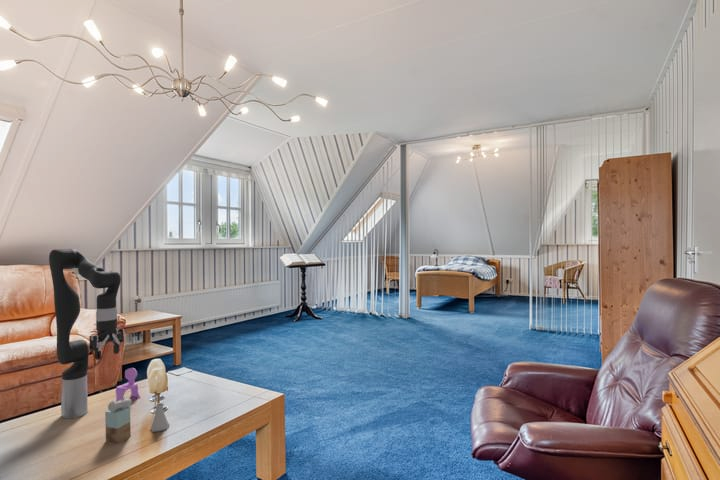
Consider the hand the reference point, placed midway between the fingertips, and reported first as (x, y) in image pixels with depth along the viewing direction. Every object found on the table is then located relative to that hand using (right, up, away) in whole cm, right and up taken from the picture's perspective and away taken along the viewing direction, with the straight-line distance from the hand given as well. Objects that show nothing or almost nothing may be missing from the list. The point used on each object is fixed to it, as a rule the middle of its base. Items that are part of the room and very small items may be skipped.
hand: (107, 356), depth 170 cm
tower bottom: (+10, -30, -10) cm, 33 cm away
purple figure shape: (-7, -30, +28) cm, 41 cm away
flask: (+23, -30, -1) cm, 38 cm away
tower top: (+10, -24, -10) cm, 28 cm away
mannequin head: (+11, -18, -10) cm, 24 cm away
